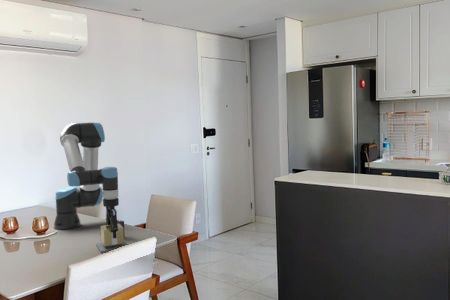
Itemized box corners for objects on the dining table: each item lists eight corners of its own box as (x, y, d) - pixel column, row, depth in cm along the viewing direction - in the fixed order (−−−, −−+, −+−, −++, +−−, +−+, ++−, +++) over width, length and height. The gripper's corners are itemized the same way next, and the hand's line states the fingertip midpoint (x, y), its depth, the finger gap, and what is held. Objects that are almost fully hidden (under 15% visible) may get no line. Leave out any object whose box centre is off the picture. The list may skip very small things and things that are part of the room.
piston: (96, 245, 214) (95, 233, 213) (123, 241, 220) (122, 230, 219) (101, 253, 201) (100, 241, 201) (129, 248, 207) (129, 236, 207)
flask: (107, 239, 224) (106, 219, 223) (107, 237, 227) (106, 218, 226) (124, 237, 227) (124, 218, 226) (124, 236, 230) (123, 217, 229)
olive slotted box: (101, 241, 213) (100, 225, 212) (119, 238, 217) (119, 223, 216) (104, 246, 204) (103, 230, 203) (123, 243, 208) (123, 227, 208)
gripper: (99, 195, 217) (100, 237, 219) (107, 202, 197) (109, 248, 199) (113, 193, 220) (115, 234, 222) (123, 201, 200) (124, 246, 202)
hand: (112, 241), depth 210 cm, fingers closed on olive slotted box, 9 cm apart
